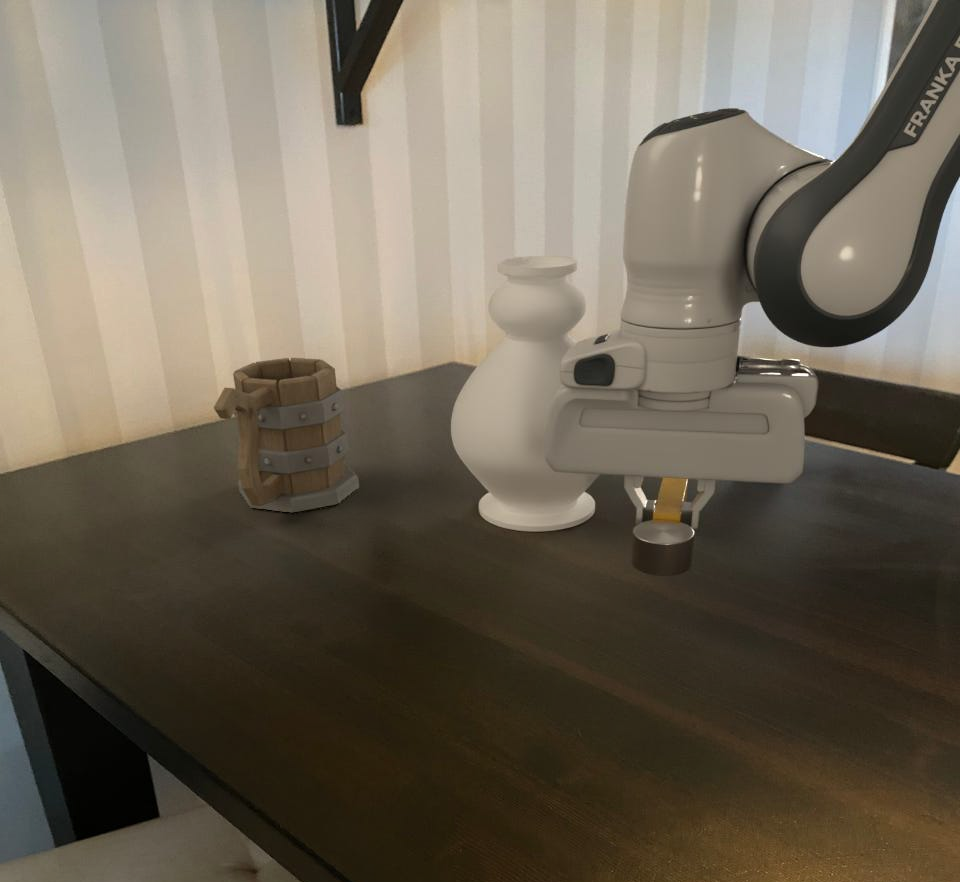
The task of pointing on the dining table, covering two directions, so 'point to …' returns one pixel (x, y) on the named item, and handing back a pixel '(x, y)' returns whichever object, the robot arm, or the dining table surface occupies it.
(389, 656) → the dining table surface
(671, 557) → the silver puck with tab
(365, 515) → the dining table surface
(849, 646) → the dining table surface
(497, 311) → the decorative vase
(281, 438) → the tankard
